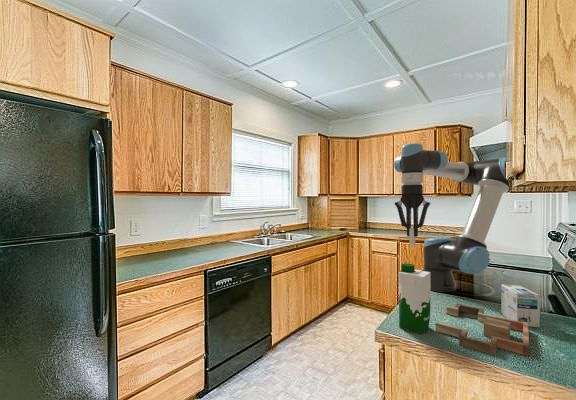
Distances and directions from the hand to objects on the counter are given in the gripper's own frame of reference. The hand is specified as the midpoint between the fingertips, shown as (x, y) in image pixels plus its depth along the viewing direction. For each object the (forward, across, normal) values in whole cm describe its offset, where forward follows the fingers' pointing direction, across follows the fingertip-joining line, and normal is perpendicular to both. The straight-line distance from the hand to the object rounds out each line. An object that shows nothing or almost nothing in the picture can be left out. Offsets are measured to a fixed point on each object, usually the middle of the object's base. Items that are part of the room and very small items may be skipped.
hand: (412, 244), depth 113 cm
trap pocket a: (+24, +19, +2) cm, 30 cm away
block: (+24, +27, -11) cm, 38 cm away
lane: (+24, +22, -10) cm, 34 cm away
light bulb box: (+24, +33, +7) cm, 41 cm away
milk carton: (+24, +5, -20) cm, 31 cm away
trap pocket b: (+24, +22, -22) cm, 40 cm away
